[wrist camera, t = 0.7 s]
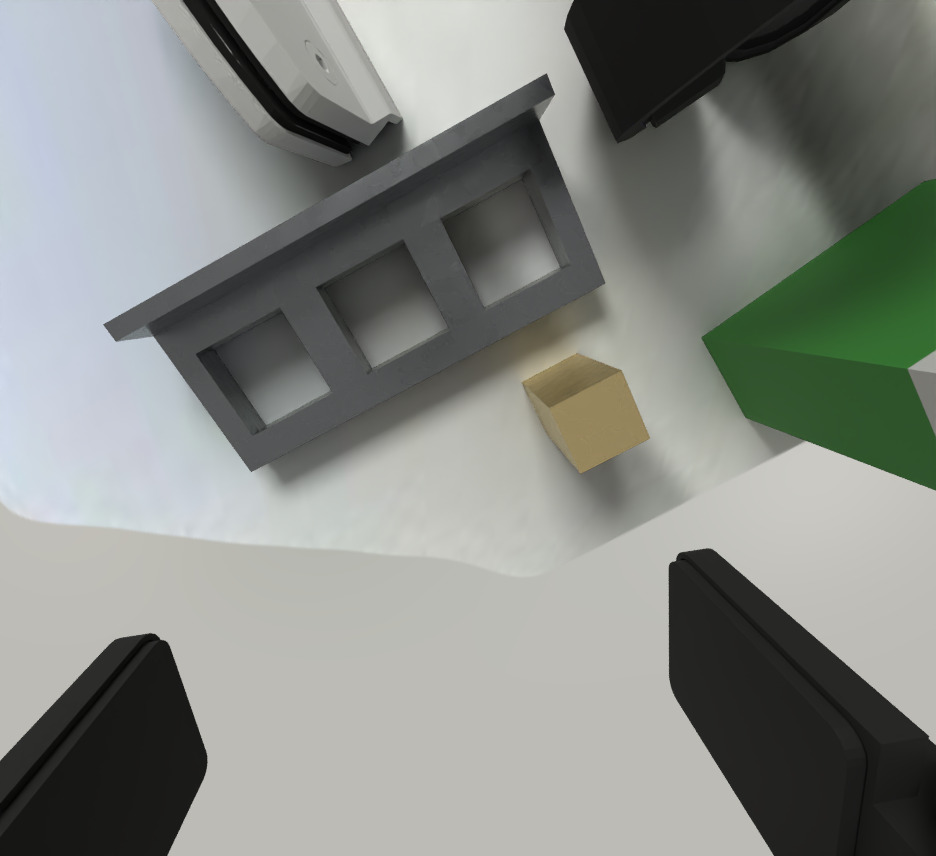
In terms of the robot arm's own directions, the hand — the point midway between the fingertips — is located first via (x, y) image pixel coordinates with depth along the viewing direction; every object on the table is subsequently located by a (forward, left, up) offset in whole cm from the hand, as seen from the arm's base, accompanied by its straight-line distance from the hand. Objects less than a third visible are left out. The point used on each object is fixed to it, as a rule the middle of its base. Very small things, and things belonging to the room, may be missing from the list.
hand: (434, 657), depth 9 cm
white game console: (-2, -23, -26) cm, 35 cm away
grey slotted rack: (0, -6, -25) cm, 26 cm away
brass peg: (-8, +5, -25) cm, 27 cm away
